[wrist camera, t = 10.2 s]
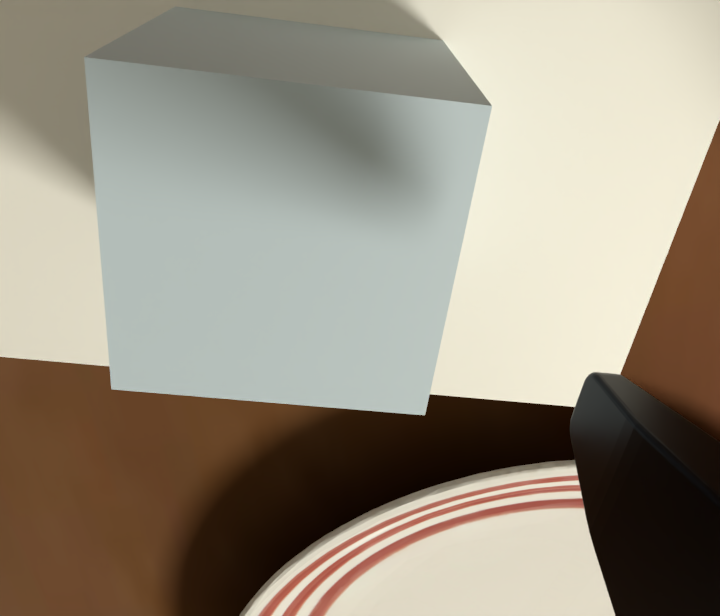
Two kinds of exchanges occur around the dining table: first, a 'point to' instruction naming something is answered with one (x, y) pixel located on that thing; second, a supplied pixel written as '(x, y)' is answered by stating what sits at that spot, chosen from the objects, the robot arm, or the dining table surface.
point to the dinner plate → (453, 554)
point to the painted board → (491, 192)
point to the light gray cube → (280, 207)
